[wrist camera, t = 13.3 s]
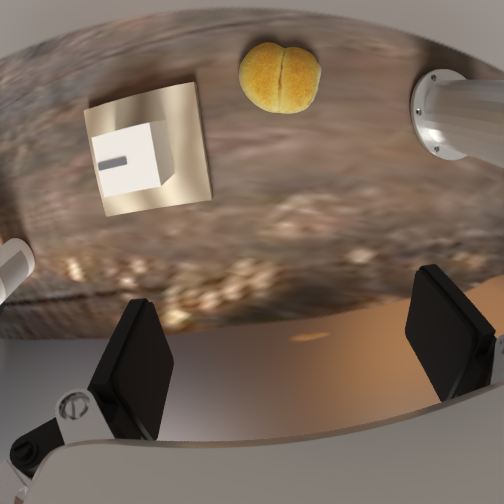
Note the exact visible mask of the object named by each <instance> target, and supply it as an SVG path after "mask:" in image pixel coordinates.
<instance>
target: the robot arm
mask: <svg viewBox="0 0 504 504" xmlns="http://www.w3.org/2000/svg"><path fill="white" fill-rule="evenodd" d="M410 107H411V119H412V124H413V127H414V130H415V132H416V134H417V136H418V138H419V140H420V141H421V143H422V144H423V146H424V147H425V148H426V149H427V150H428V151H429V152H431V153H432V154H434V155H435V156H438V157H440V158H443V159H446V160H458V159H462V158H464V157H466V156H467V155H469V156H472V157H475V158H478V159H480V160H483V161H486V162H489V163H491V164H494V165H497V166H499V167H502V168H504V81H503V80H467V79H466V78H465V77H463V76H462V75H461V74H459V73H457V72H455V71H452V70H449V69H436V70H433V71H430V72H428V73H426V74H425V75H423V76H422V77H421V78H420V80H419V81H418V82H417V84H416V86H415V88H414V90H413V93H412V97H411V104H410ZM416 110H417V113H416ZM495 332H496V331H495V329H494V328H493V327H492V326H491V324H490V323H489V322H488V321H487V320H486V318H485V317H484V316H483V315H482V314H481V313H480V311H479V310H478V309H477V308H476V307H475V306H474V305H473V303H472V302H471V301H470V300H469V299H468V298H467V297H466V296H465V294H464V293H463V292H462V291H461V290H460V289H459V288H458V287H457V286H456V285H455V284H454V283H453V282H452V281H451V279H450V278H449V277H448V276H447V275H446V274H445V273H444V272H443V271H442V270H441V269H440V268H439V267H438V266H437V265H436V264H431V265H425V266H421V267H420V268H419V271H416V274H415V279H414V285H413V291H412V297H411V303H410V307H409V313H408V317H407V322H406V327H405V335H406V338H407V339H408V341H409V343H410V345H411V347H412V348H413V350H414V352H415V353H416V356H417V357H418V359H419V361H420V363H421V365H422V366H423V368H424V370H425V372H426V374H427V376H428V378H429V380H430V382H431V383H432V385H433V387H434V389H435V391H436V393H437V395H438V397H439V399H440V401H441V403H438V404H435V405H432V406H429V407H426V408H423V409H419V410H416V411H413V412H409V413H406V414H402V415H398V416H395V417H391V418H387V419H383V420H379V421H375V422H370V423H366V424H361V425H356V426H352V427H347V428H341V429H336V430H330V431H324V432H318V433H311V434H304V435H296V436H288V437H279V438H269V439H257V440H241V441H215V442H214V441H210V442H192V441H191V442H189V441H156V440H157V438H158V434H159V429H160V424H161V419H162V415H163V410H164V405H165V401H166V396H167V392H168V387H169V383H170V379H171V375H172V370H173V365H174V361H173V356H172V353H171V351H170V348H169V346H168V343H167V340H166V338H165V335H164V332H163V329H162V327H161V324H160V321H159V318H158V315H157V313H156V310H155V307H154V304H153V303H152V302H149V301H148V300H147V299H146V298H144V299H132V300H130V301H129V303H128V305H127V307H126V309H125V311H124V313H123V315H122V317H121V319H120V321H119V323H118V325H117V327H116V329H115V331H114V333H113V335H112V337H111V339H110V341H109V343H108V345H107V347H106V349H105V351H104V353H103V355H102V358H101V360H100V362H99V364H98V366H97V368H96V370H95V373H94V375H93V377H92V380H91V381H90V384H89V386H88V389H87V390H85V389H73V390H70V391H68V392H67V393H65V394H64V395H62V396H61V398H60V399H59V400H58V402H57V404H56V406H55V416H56V417H55V418H53V419H52V420H50V421H48V422H46V423H45V424H43V425H41V426H39V427H38V428H36V429H34V430H32V431H30V432H29V433H27V434H25V435H23V436H21V437H20V438H19V439H17V440H16V441H15V442H14V443H13V445H12V447H11V450H10V460H9V461H7V460H6V459H5V460H4V461H3V462H2V463H1V464H0V504H504V334H503V335H501V336H499V337H498V338H496V337H495V336H494V334H495Z"/></svg>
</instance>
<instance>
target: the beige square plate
mask: <svg viewBox="0 0 504 504" xmlns="http://www.w3.org/2000/svg"><path fill="white" fill-rule="evenodd" d="M84 116H85V122H86V128H87V133H88V139H89V144H90V149H91V154H92V159H93V164H94V168H95V173H96V177H97V182H98V186H99V190H100V194H101V198H102V202H103V206H104V210H105V213H106V217H107V216H113V215H118V214H124V213H129V212H135V211H141V210H147V209H153V208H159V207H166V206H172V205H179V204H186V203H192V202H199V201H207V200H212V198H213V192H212V186H211V180H210V173H209V167H208V161H207V154H206V148H205V141H204V135H203V128H202V121H201V114H200V107H199V100H198V93H197V86H196V83H195V82H190V83H185V84H180V85H175V86H170V87H166V88H161V89H157V90H153V91H149V92H145V93H141V94H137V95H133V96H129V97H126V98H122V99H119V100H115V101H112V102H109V103H105V104H102V105H99V106H96V107H93V108H90V109H87V110H84ZM161 120H166V123H167V129H168V136H169V142H170V147H171V153H172V159H173V164H174V170H175V174H174V175H173V176H172V177H170V178H169V179H168V180H167V181H166V182H165V183H164V184H163V185H162V186H161V187H155V188H150V189H144V190H139V191H134V192H128V193H123V194H118V195H114V196H109V197H104V194H103V189H102V185H101V181H100V177H99V172H98V168H97V163H96V158H95V154H94V149H93V143H92V137H96V136H99V135H102V134H106V133H109V132H113V131H117V130H121V129H124V128H128V127H132V126H136V125H140V124H145V123H149V122H155V121H161Z"/></svg>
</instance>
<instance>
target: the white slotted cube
mask: <svg viewBox="0 0 504 504" xmlns="http://www.w3.org/2000/svg"><path fill="white" fill-rule="evenodd" d="M92 143H93V149H94V154H95V158H96V163H97V168H98V172H99V177H100V181H101V185H102V189H103V194H104V197H109V196H114V195H118V194H123V193H128V192H134V191H139V190H144V189H150V188H155V187H161V186H162V185H163V184H164V183H165V182H166V181H167V180H168V179H169V178H170V177H172V176H173V175H174V174H175V170H174V164H173V159H172V153H171V147H170V142H169V136H168V129H167V123H166V120H161V121H155V122H149V123H145V124H140V125H136V126H132V127H128V128H124V129H121V130H117V131H113V132H109V133H106V134H102V135H99V136H96V137H92Z"/></svg>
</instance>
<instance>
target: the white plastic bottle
mask: <svg viewBox="0 0 504 504" xmlns="http://www.w3.org/2000/svg"><path fill="white" fill-rule="evenodd" d="M34 266H35V260H34V255H33V253H32V251H31V249H30V247H29V246H28V245H27V244H26V243H25V242H24V241H23V240H21V239H19V238H12V239H10V240H8V241H7V242H6V243H4V244H3V245H2V246H1V247H0V305H1V304H2V303H3V301H4V300H5V299H6V298H7V297H8V296H9V295H10V294H11V293H12V292H13V291H14V290H15V289H16V288H17V287H18V286H19V285H20V284H21V283H22V282H23V281H24V280H25V279H26V278H27V277H28V276H29V275H30V274H31V273H32V272H33V269H34Z"/></svg>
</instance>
